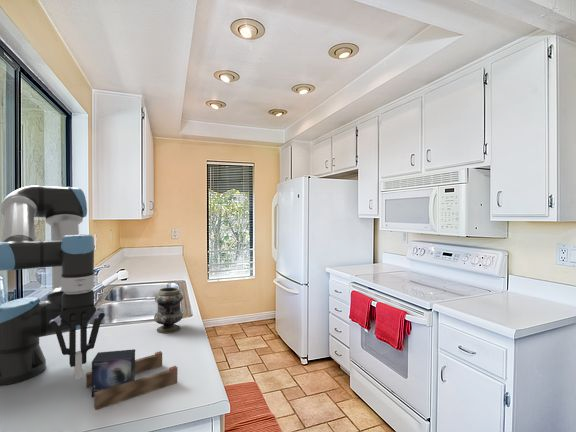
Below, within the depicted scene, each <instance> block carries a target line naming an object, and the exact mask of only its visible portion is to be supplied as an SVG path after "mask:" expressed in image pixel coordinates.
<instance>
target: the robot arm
mask: <svg viewBox="0 0 576 432" xmlns="http://www.w3.org/2000/svg"><path fill="white" fill-rule="evenodd" d="M0 205H1V206H0V212H1V215H2V217H3V227H2V237H1V238H2V239H1V241H0V271H2V272H3V271H9V272H10V271H18V270H29V269H40V268H51V279H52V280H51V281H52V283H51V284H52V285H51V286H52V289H51V290H50V291H49V292H48V294H47V295H46V300H41V299H40V297H38V296H26V297H20V298H17V299H14V300H10V301H7V302H6V301H5V302H4V303H0V386H6V385H11V384H16V383H19V382H23V381H26V380H29V379H30V378H33V377H36V376H38V375H39V374H41V373H42V372H43V371H44V370H45V369H46V368H47V361H46V360H47V359H46V356H45V355H44V353H43V351H42V348H41V346H40V338H43V337H46V336H47V337H48V336H52V335H56V338H57V341H58V344H59V349H60V351H61V354H62V356H66V355H68V356H69V360H68V361H69V367H70V368H73V375H74V376H73V377H74V379H75V380H79V379H81V378H83V365H85V364H87V359H88V358H87V355H88V352H89V350H92V349H94V348H95V345H96V342H97V337H98V335H99V334H98V333H99V329H100V327H101V323H102V321H103V319H104V317H105V312H104V311H103V310H102V311H101V310H98V309H97V307H96V305H95V291H94V288H95V266H94V265H95V248H96V245H95V238H94V236H93V235H92V234H79V233H80V228H79V225H80V224H81V223H82V222H83V220H84V218H86V217H87V215H88V203H87V200H86V195H85V193H84V191H83V189H81V188H79V187H71V186H66V187H65V186H49V185H48V186H47V185H46V186H45V185H28V186H24V187H20V188H18V189H15V190H14V191H12V192H11V193H9V194H7V196H5V197H4V199H3V201H2V203H1V204H0ZM35 218H45V223H46V224H48V225H49V226H50V240H40V241H39V240H37V241H36V233H35V231H36V230H35ZM92 317H94V320H93V323H92V327H91V331H90V335H89V339H88V330H87V329H88V326H89V324H90V322H91V319H92ZM76 331H80V334H79V335H80V337H79V339H80V341H79V342H80V343H79V345H80V346H79V347H80V350H79V351H77V350H76V347H77V344H76V343H77V335H76V334H77V332H76ZM63 333H68V335H69V337H68V338H69V340H68V341H69V343H68V344H69V345H68V346H69V347H68V348H67V345H66V342H65V339H64V335H63ZM87 341H88V342H87Z"/></svg>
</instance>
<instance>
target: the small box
mask: <svg viewBox="0 0 576 432" xmlns="http://www.w3.org/2000/svg"><path fill="white" fill-rule="evenodd" d="M135 360H136V349H133V348H132V349H125V350H124V349H123V350H112V351H110V350H109V351H102V352H101V351H100V352H99V351H98V352H97V353H96V354H95V356H94V358H93V359H92V361H91V371H92V387H91V398H94V392H97V391H101V390H104V389H107V388H110V387H114V386H117V385H120V384H124V383H127V382H130V381H134V380H136V377H135V376H136V374H135Z"/></svg>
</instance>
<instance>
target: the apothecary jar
mask: <svg viewBox="0 0 576 432" xmlns="http://www.w3.org/2000/svg"><path fill="white" fill-rule="evenodd" d="M183 300H184V294H183V293H181V292H180V288H179V287H177V286H176V287H175V286H173V287H172V286H169V287H168V286H167V287H162V288H160V289H159V290H158V294H156V295H155V297H154V302H155V303H157V309H156V310H157V312H156V313H155V314H154V316H153V320H154V321H155V322H156V323H157V324H159V325H161V326H158V327H157V329H156V332H157V333H160V334H170V333H171V332H172V333H175V331H176V332H178V331H179V330H180V329H181V327H180V325H178V324H177V323H178V322H180V321H181V320H182V319H183V316H184V313H183V312H182V311H181V302H182V301H183ZM177 330H178V331H177Z"/></svg>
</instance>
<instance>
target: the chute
mask: <svg viewBox="0 0 576 432" xmlns="http://www.w3.org/2000/svg"><path fill="white" fill-rule="evenodd" d="M160 367H163V352H162V351H160V350H159V351H157V352H154V354H151V355H148V356H144V357H141V358H135V375H136V374H140V373H143V372H147V371H150V370H155V369H158V368H160ZM177 383H178V367H177V366H176V365H173V366H170V367H169V368H168V369H167V370H163V371H159V372H157V373H154V374H151V375H147V376H145V377H139V378H137V379H135V380H134V381H130V382H127V383H124V384H120V385H117V386H114V387H110V388H107V389H104V390H101V391H97V392H94V397H93V400H94V403H93V405H94V406H93V407H94V410H95V411H96V410H99V409H103V408H106V407H108V406H111V405H113V404H117V403H120V402H124V401H127V400H129V399H132V398H135V397H138V396H142V395H143V394H147V393H149V392H153V391H155V390H160V389H162V388H165V387H168V386H171V385H173V384H174V385H175V384H177ZM85 387H86V389H89V388H92V370H91V371H88V372H86V373H85Z"/></svg>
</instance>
